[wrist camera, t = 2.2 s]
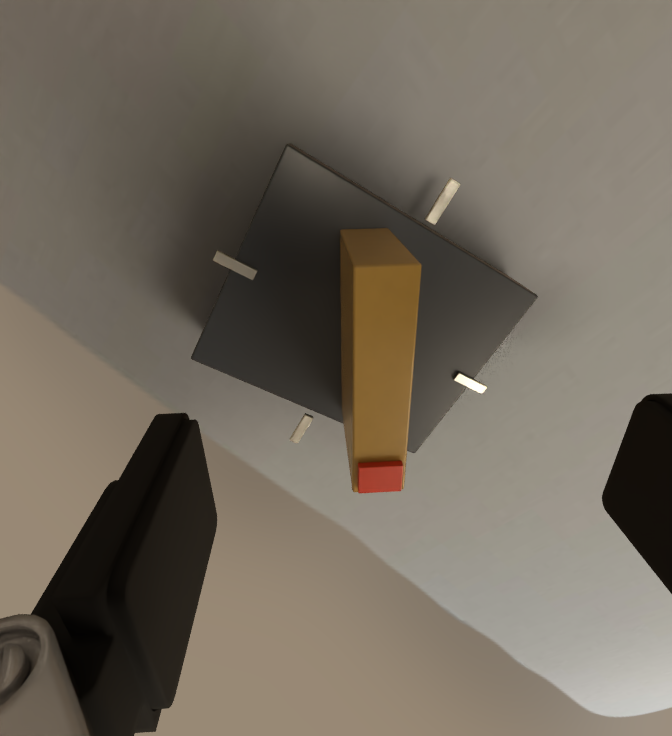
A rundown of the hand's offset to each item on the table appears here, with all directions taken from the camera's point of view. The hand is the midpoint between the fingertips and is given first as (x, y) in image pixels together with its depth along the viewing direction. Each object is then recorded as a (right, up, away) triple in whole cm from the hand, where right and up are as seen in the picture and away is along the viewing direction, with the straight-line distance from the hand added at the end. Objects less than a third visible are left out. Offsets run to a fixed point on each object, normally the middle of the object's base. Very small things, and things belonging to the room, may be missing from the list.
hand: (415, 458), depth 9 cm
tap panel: (-1, +5, +8) cm, 10 cm away
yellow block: (-1, +3, +6) cm, 7 cm away
